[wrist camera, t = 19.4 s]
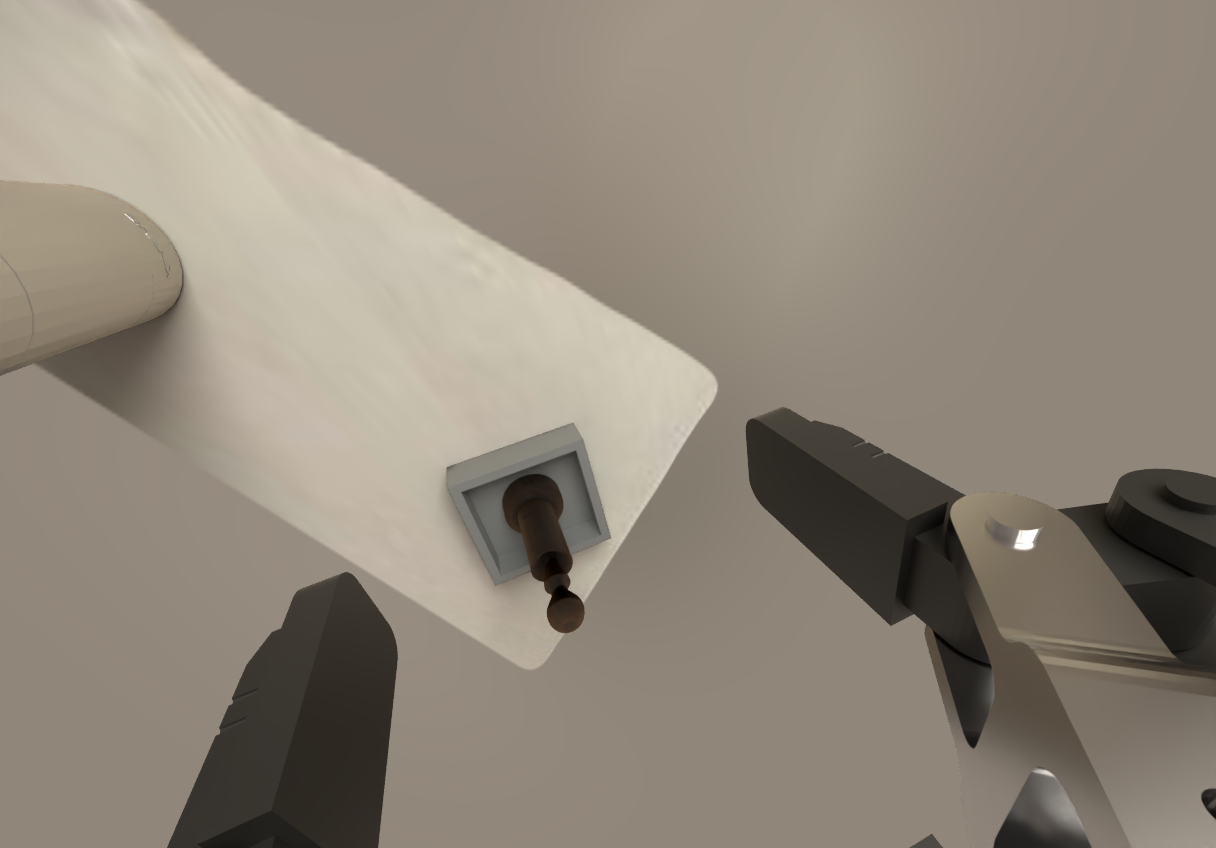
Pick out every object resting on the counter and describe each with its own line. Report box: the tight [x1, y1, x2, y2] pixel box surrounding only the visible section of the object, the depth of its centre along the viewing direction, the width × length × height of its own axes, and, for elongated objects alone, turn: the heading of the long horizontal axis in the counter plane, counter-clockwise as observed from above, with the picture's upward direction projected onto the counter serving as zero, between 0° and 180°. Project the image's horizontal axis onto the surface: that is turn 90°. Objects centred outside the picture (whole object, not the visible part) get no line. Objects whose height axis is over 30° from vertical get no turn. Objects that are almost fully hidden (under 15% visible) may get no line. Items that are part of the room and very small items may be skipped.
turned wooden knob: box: [502, 474, 584, 633], centre depth 43 cm, size 7×6×18 cm
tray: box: [447, 423, 611, 586], centre depth 49 cm, size 14×14×4 cm
